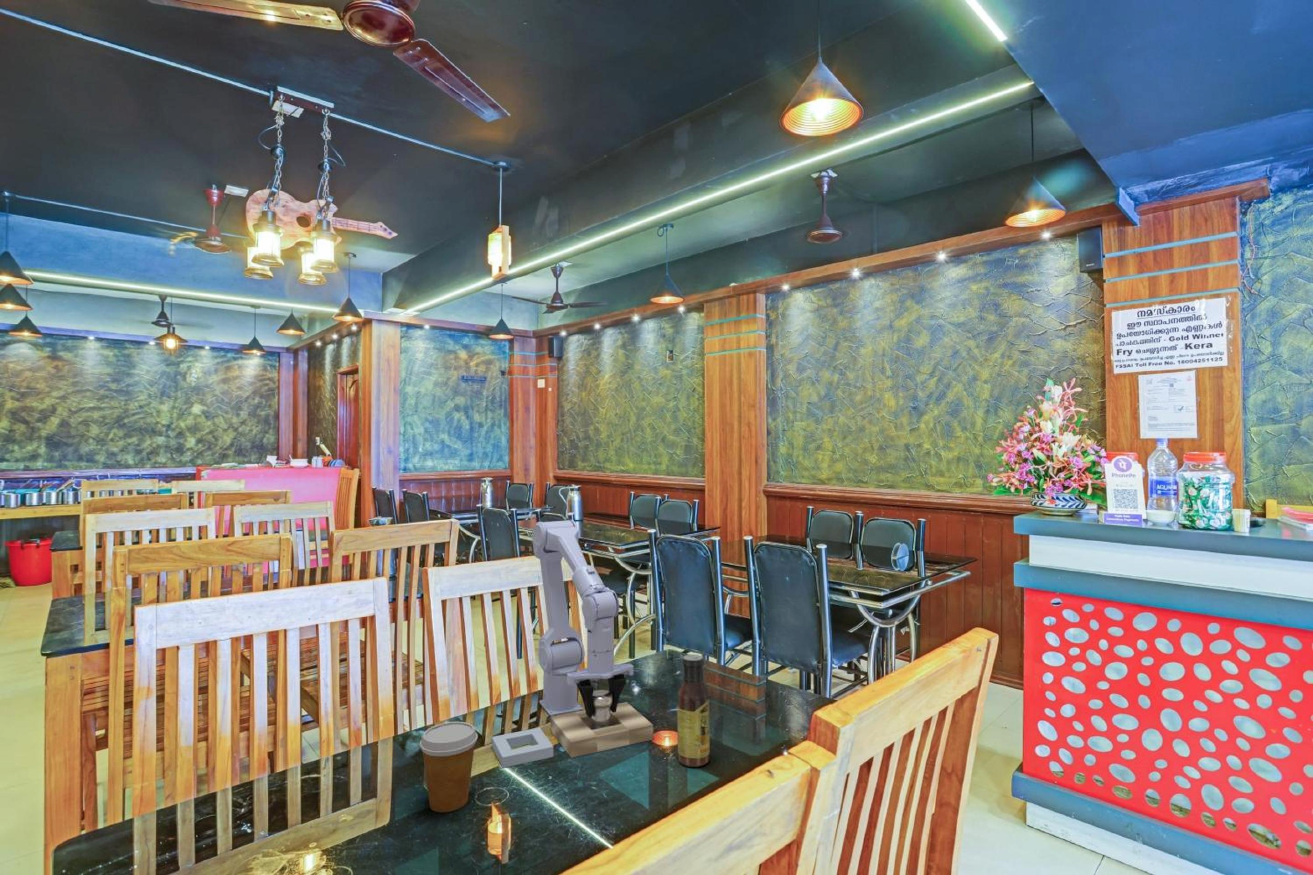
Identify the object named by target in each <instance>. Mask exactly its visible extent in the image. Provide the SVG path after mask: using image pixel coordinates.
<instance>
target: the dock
mask: <svg viewBox="0 0 1313 875" xmlns="http://www.w3.org/2000/svg"><path fill="white" fill-rule="evenodd" d="M591 720H592V717H588V716H587V715H586V711H585V709H583V710H581V711H575V712H570V713H565V714H560V715H554V716H550V732H551V733H552V735H553V736H554V737H555V739H556V740H557V741H558V742H559V744H560V745H561V747H562V748H563V749H564V750H565V752H566V753H567V755H568V756H569V757H570V758H576V757H581V756H585V755H589V754H595V753H599V752H603V751H608V750H612V749H616V748H617V749H618V748H621V747H626V746H630V745H634V744H638V743H643V742H649V741H653V740H654V724H652V722H650V721H649V720H648V719H647V718H646V717H645V716H643V715H642V714H641V713H640V712H639V711H638V710H636V709H635V708H634V707H633V706H632V705H631V704H629V703H628V702H627V701H625V702H620V703H618V705H617V709H616V712H614V713H613V712H612V711H611V710H610V726H609V727H604V728H599V729H595V730H591Z"/></svg>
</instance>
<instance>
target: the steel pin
mask: <svg viewBox="0 0 1313 875" xmlns="http://www.w3.org/2000/svg"><path fill="white" fill-rule="evenodd" d="M612 704H613V693H612V692H611V691H609V690H608V689H607V690H605V689H597V690H593V698H592V712H593V713H592V720H591V730H595V729H599V728H604V727H609V726H610V706H611V705H612Z"/></svg>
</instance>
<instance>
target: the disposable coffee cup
mask: <svg viewBox="0 0 1313 875" xmlns="http://www.w3.org/2000/svg"><path fill="white" fill-rule="evenodd" d="M478 737H479V736H478V733H477V732H476V727H475V726H474V725H473V724H471V723H469V722H465V721H448V722H443V723H439V724H436V725H433V726H430V728H427V729H426V730H425V731H424V732H423V735H422V736H421V739H420V742H419V747H420V749H421V751H422V757H423V763H424V769H425V771H424V772H425V779H426V785H427V786H426V787H427V795H428V796H427V797H428V804H429V808H430V810H432V811H434V812H436V813H449V812H453V811H457V810H459V809H461V808H463V807H464V806H465V805H467V803H468V801H469V793H470V787H471V786H470V785H471V777H472V768H473V761H474V754H475V744H476V743H477V740H478Z"/></svg>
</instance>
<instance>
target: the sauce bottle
mask: <svg viewBox="0 0 1313 875" xmlns="http://www.w3.org/2000/svg"><path fill="white" fill-rule="evenodd" d="M682 665H683V676H682V678H683V682H682V683H681V684H680V686H679V688H678V690H677V706H676V708H677V754H678V755H677V757H678V761H679V763H681V764H682V765H683V766H686V767H693V768H697V767H701V766H705V765H707V763H708V762H709V761H710V752H711V750H710V743H711V742H710V739H711V738H710V696H709V694H708V691H707V688H706V685H705V683H704V679H703V678H704V677H703V666H704V657H703V656H701V655H699V654H687V655H684V656H683V657H682Z"/></svg>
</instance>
